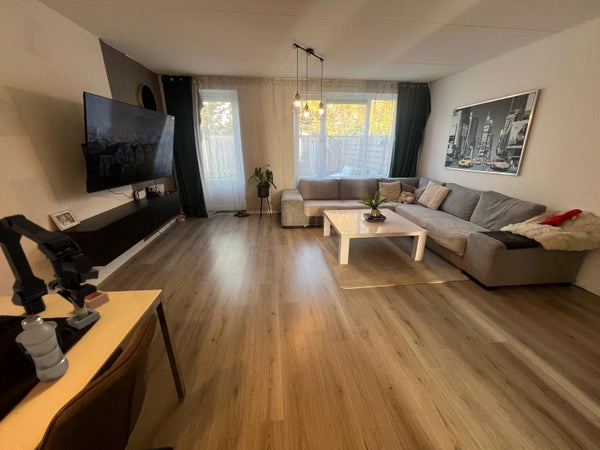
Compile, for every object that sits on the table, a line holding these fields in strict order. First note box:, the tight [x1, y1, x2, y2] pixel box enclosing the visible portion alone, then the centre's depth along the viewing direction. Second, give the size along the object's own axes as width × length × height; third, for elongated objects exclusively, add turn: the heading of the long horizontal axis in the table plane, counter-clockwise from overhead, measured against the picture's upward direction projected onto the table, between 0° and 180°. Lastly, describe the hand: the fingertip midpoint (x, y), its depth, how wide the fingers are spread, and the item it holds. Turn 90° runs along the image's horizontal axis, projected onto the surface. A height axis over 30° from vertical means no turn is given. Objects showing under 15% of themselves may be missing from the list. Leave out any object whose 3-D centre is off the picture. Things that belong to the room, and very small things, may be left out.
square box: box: [84, 289, 110, 310], centre depth 101 cm, size 7×7×5 cm
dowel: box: [72, 302, 89, 321], centre depth 90 cm, size 3×3×10 cm
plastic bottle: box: [20, 314, 70, 382], centre depth 68 cm, size 6×7×20 cm
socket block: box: [65, 308, 101, 330], centre depth 91 cm, size 7×7×4 cm
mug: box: [15, 320, 75, 365], centre depth 77 cm, size 12×9×10 cm
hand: (79, 306), depth 90 cm, fingers closed on dowel, 3 cm apart
